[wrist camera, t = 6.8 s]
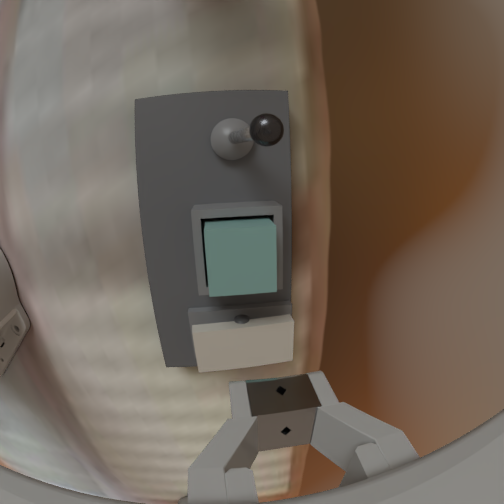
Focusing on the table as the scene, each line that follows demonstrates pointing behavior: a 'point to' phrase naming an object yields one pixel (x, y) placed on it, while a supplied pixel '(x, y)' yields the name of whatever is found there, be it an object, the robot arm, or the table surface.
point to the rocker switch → (243, 342)
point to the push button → (241, 256)
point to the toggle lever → (260, 131)
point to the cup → (183, 500)
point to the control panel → (207, 204)
